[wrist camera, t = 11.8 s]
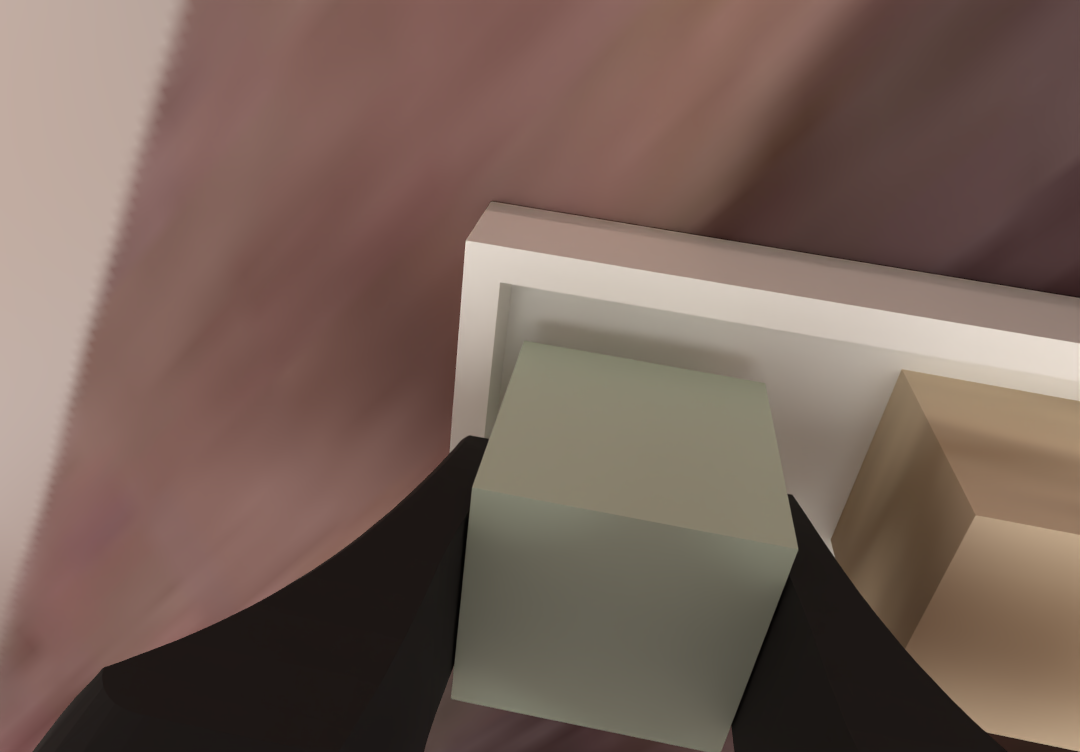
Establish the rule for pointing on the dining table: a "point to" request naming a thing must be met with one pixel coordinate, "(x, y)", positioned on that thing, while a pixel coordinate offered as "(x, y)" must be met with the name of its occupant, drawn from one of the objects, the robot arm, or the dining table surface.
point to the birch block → (976, 548)
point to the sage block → (623, 547)
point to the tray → (748, 329)
